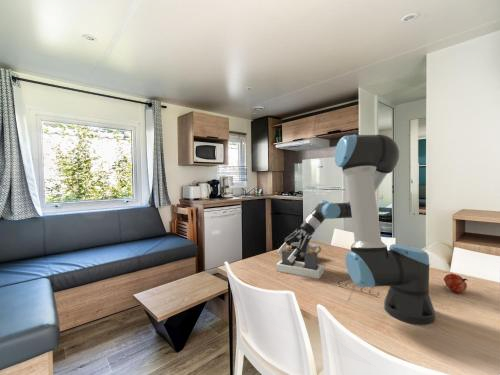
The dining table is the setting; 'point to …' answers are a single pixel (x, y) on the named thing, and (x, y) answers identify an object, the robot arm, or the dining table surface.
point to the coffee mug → (301, 256)
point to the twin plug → (311, 260)
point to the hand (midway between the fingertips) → (283, 256)
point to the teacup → (312, 246)
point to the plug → (287, 256)
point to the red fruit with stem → (455, 283)
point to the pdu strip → (300, 269)
